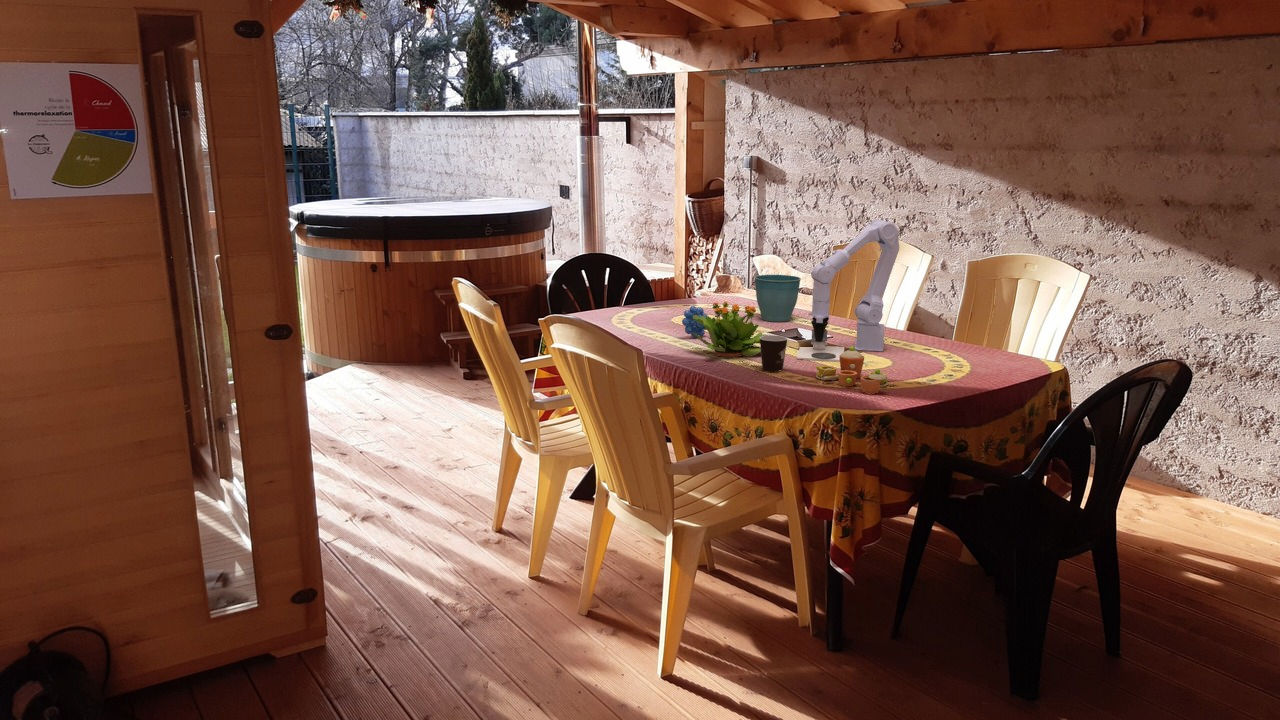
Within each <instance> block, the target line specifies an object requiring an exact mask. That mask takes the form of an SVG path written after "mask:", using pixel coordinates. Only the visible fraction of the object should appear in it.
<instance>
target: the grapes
mask: <svg viewBox="0 0 1280 720" xmlns="http://www.w3.org/2000/svg"><path fill="white" fill-rule="evenodd" d="M693 315H697V316H699V317H700V316H704V317H705V318H706V316H708V314H707V313H705V311H704V308H703V307H700V306H698V307H696V306H695V305H691V306H690V307H689V310H687V309H686V310H684V311H683V316H684V318H683V319H682V320H681V322H682V323H681V324H682V325H683V326H684V332H685V333H686V334H687V335H690V336H691V337H692V338H693V339H697V338H698V337H697V336H695V334H697V335H698V336H700V337H704V336H705V334H706V332H705V331H707V329H706V328H705V327H704V326H703V325H702V324H700V323H699V322H697V321H695V320H693V319H694V318H693ZM692 332H693V333H692ZM694 333H695V334H694Z"/></svg>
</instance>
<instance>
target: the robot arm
mask: <svg viewBox="0 0 1280 720" xmlns="http://www.w3.org/2000/svg"><path fill="white" fill-rule="evenodd" d="M899 234H900V231H899V229H898V227H897V226H896V224H895V223H894V222H891V221H886V220H885V221H884V220H882V219H874V220H873V221H871V222H870V224H867V225H866V226H865V227H864V228H863V229H862V231H861V232H860V233H858V234H857V235H856V237H854V238H853V239H852V240H851V241H850V242H849V243H848V244H847V245H846V246H845V247H844V248H843V249H842V248H841V249H840V248H839V249H836V250H832V251H831V253H832V254H831V255H830V256H829V257H827V258H826V259H825V260H822V261H821V263H820V264H816V265H815V266H814V267H813V268H812V270H811V272H810V276H811V278H812V280H813V286H812V305H811V307H812V308H811V312H808V316H812V318H811V321H810V323H811V325H812V329H814V333H815V340H816V342H822V340H823V336H824V331H825V329H827V326H828V325H829V320H830V303H831V301H830V300H831V299H830V298H831V282H832V281H833V280H834V278H835V275H836V274H837V273H838V272H840V271H841V270H842V269H843V268H844V267H845V266H846V265H848V264H849V263H850V258H851V257H852V256H853V255H854V254H855V253H857V252H858V251H859V250H861V248H863V247H864V246H866V245H867V244H868V243H872V242H873V243H874V242H877V243H878V245H879V248H880V249H881V252H880V254H879V257H878V260H877V263H876V266H875V268H874V271H873V274H872V277H871V281H870V283H869V286H868V289H867V291H866V294H864V295H863V296H862V297H861V300H860V302H859V303H858V304H857V305H856V306H855V309H854V314H855V317H856V318H857V321H856V322H857V325H856V337H855V340H856V341H855V342H856V343H855V344H854V348H855V351H869V352H872V351H873V352H884V346H885V324H884V323H880V322H881V321H882V319H883V316H884V314H883V308H884V306H885V305H884V302H883V296H884V293H885V291H886V288H887V285H888V282H889V280H890V277H891V274H892V271H893V267H894V266H895V263H896V259H897V256H898V253H899V252H900V241H899Z"/></svg>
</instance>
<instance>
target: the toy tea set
mask: <svg viewBox="0 0 1280 720" xmlns="http://www.w3.org/2000/svg"><path fill="white" fill-rule="evenodd" d="M839 358H840V362H839V366H840V367H839V369H840V370H839V371H838V372H837V367H835V366H832V365H817V366H816V370H817V371H818V372H816V371H815V373H816V375H815V377H816V379H819V380H820V379H821V381H825V380H832V381H837V380H838V385H839V384H840V385H839V386H841V385H844V386H843V387H845V386H852V387H854V386H853V385H856V381H857V379H860V385H861V392H862V391H863V392H866V393H877V392H878V393H879V391H880V388H881V387H880V386H885V387H887V386H888V384H889V382H888V376H887V374H886V373H884V372H883V371H881V370H880V369H879V368H876V369H874V371H870V372H868V373H867V375H862V372H863V371H862V370H863V366H864V362H865V356H864V355H863V354H862V353H861V352H859V350H855V346H850V347H849V349H848V350H844V353H842V354H841V355H840V357H839ZM836 373H837V374H836ZM861 375H862V376H861ZM859 377H860V378H859ZM886 385H887V386H886ZM863 392H862V393H863ZM866 393H865V394H866ZM878 393H877V394H878Z"/></svg>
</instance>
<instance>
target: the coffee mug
mask: <svg viewBox="0 0 1280 720" xmlns="http://www.w3.org/2000/svg"><path fill="white" fill-rule="evenodd" d="M766 335H767V336H761V337H760V344H759V345H760V346H759V347H761V352H760V358H761V367H762V368H761V369H762V370H763V371H765V370H766V372H771V371H776V372H780V371H779V370H782V369H784V365H785V364H784V363H785V357H786V350H787V344H788V338H787V337H786V336H783V335H775V334H774V335H772V334H770V335H768V334H766ZM782 371H783V370H782Z"/></svg>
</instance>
